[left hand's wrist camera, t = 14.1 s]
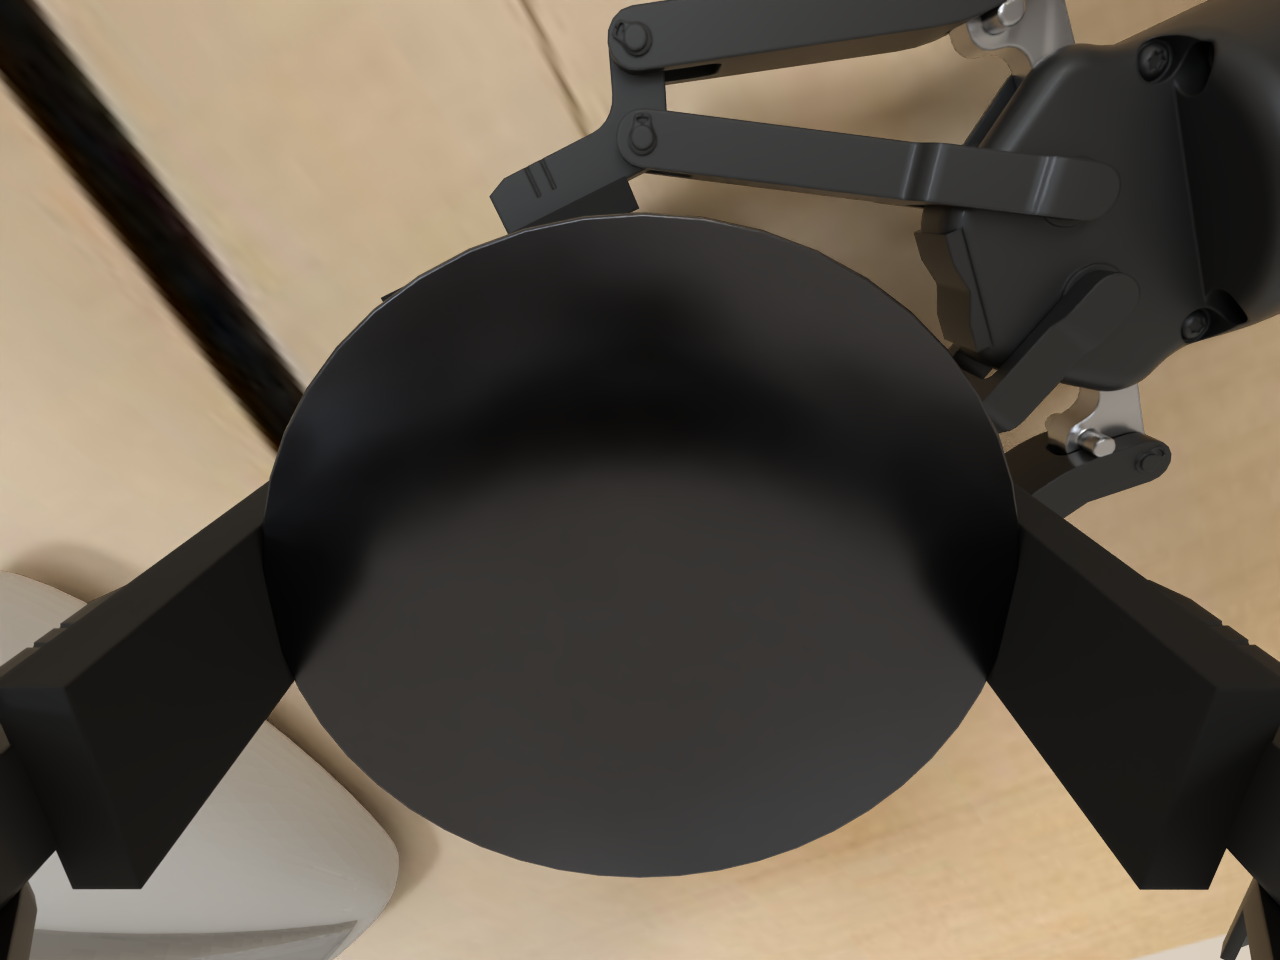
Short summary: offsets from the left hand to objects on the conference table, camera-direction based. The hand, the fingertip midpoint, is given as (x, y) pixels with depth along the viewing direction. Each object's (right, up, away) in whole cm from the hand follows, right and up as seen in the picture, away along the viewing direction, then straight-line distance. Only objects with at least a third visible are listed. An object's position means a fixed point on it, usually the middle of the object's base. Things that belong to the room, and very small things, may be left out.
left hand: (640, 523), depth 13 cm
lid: (0, -1, -3) cm, 3 cm away
